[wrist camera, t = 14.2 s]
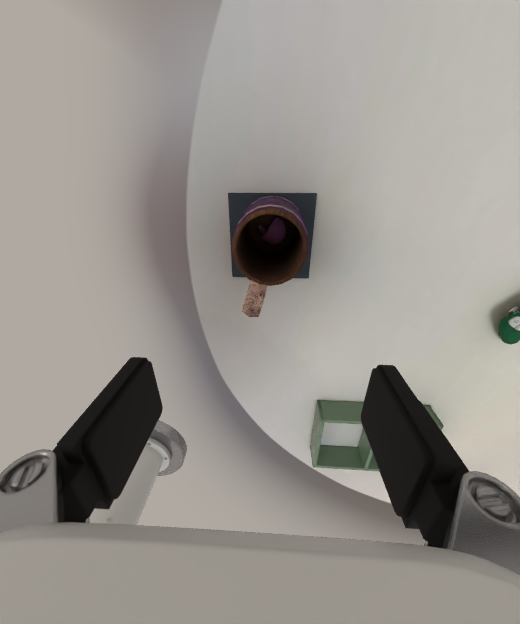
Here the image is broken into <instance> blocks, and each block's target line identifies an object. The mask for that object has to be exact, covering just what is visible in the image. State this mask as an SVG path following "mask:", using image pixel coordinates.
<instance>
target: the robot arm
mask: <svg viewBox="0 0 520 624" xmlns="http://www.w3.org/2000/svg"><path fill="white" fill-rule="evenodd" d="M161 413H162V403H161V399H160V395H159V391H158V387H157V383H156V379H155V375H154V371H153V367H152V363H151V362H150V361H148V360H147V358H140V357H137V358H136V357H133V358H130V359H129V360H128V361H127V363H126V364H125V365H124V366H123V367H122V368H121V370H120V371H119V372H118V373H117V374H116V375H115V377H114V378H113V379H112V380H111V381H110V382H109V384H108V385H107V386H106V387H105V388H104V389H103V391H102V392H101V393H100V394H99V396H98V397H97V398H96V399H95V400H94V401H93V402H92V403H91V405H90V406H89V407H88V408H87V409H86V410H85V412H84V413H83V414H82V415H81V416H80V417H79V419H78V420H77V421H76V422H75V423H74V425H73V426H72V427H71V428H70V429H69V430H68V432H67V433H66V434H65V435H64V436H63V437H62V439H61V440H60V441H59V442H58V443H57V446H56V447H55V449H54V450H53V451H51V450H37V451H34V452H31V453H28V454H26V455H24V456H23V457H21V458H19V459H17V460H16V461H14V462H13V463H12V464H10V465H9V466H8V467H7V468H6V469H5V470H4V471H3V472H2V473H1V474H0V624H520V497H519V496H518V495H517V494H516V493H515V492H514V491H513V490H512V489H510V488H509V487H508V486H507V485H506V484H504V483H503V482H501V481H499V480H498V479H496V478H494V477H492V476H490V475H488V474H486V473H481V472H477V471H472V472H469V470H468V469H467V467H466V466H465V464H464V463H463V462H462V460H461V459H460V457H459V456H458V454H457V453H456V451H455V450H454V449H453V447H452V446H451V444H450V443H449V441H448V440H447V438H446V437H445V436H444V434H443V433H442V431H441V430H440V428H439V427H438V425H437V424H436V423H435V421H434V420H433V418H432V417H431V415H430V414H429V412H428V411H427V410H426V408H425V407H424V405H423V404H422V403H421V402H420V401H419V400H418V399H417V398H416V396H415V395H414V394H413V392H412V391H411V389H410V388H409V386H408V385H407V383H406V382H405V380H404V379H403V377H402V376H401V374H400V373H399V372H398V370H397V369H396V367H395V366H393V365H378V366H377V368H374V369H373V370H372V373H371V377H370V381H369V385H368V389H367V392H366V396H365V400H364V404H363V408H362V412H361V422H362V425H363V428H364V431H365V433H366V436H367V439H368V441H369V444H370V447H371V449H372V452H373V455H374V457H375V460H376V463H377V465H378V468H379V471H380V473H381V476H382V479H383V481H384V484H385V487H386V489H387V492H388V495H389V497H390V500H391V503H392V506H393V508H394V511H395V512H396V514H397V515H398V516H400V517H402V520H403V522H404V525H405V527H406V528H413V529H420V532H421V534H422V536H423V539H425V544H424V546H422V545H413V544H402V543H391V542H380V541H369V540H355V539H342V538H328V537H313V536H299V535H284V534H270V533H255V532H239V531H224V530H209V529H193V528H176V527H159V526H143V525H137V523H138V520H139V518H140V516H141V513H142V511H143V508H144V506H145V503H146V501H147V499H148V496H149V494H150V491H151V489H152V487H153V484H154V482H155V479H156V477H157V475H158V472H161V471H163V470H165V469H166V468H167V467H168V466H169V463H170V461H171V454H170V452H169V450H168V449H167V448H166V447H165V446H164V445H163V444H162V443H160V442H159V441H157V440H155V439H153V438H150V435H151V433H152V432H153V430H154V428H155V426H156V424H157V422H158V420H159V418H160V416H161Z"/></svg>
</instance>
